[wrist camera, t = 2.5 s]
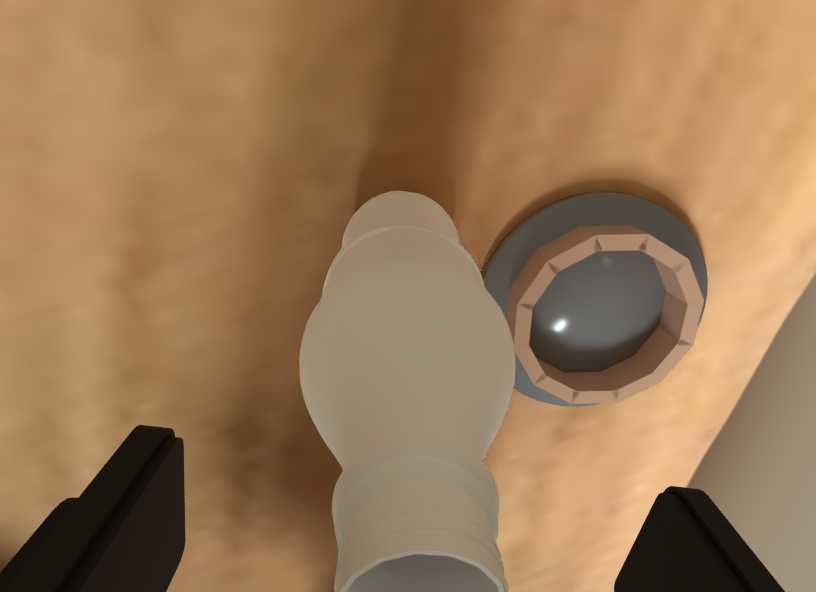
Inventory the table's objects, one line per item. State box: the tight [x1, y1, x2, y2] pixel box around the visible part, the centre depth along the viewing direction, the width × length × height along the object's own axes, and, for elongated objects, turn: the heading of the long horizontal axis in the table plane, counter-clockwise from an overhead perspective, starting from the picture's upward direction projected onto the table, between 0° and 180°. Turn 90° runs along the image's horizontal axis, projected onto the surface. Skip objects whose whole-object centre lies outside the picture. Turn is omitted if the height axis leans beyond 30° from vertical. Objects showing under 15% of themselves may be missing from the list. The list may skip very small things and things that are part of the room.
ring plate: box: [482, 192, 708, 406], centre depth 32 cm, size 16×16×4 cm
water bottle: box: [299, 191, 516, 592], centre depth 19 cm, size 7×7×25 cm
